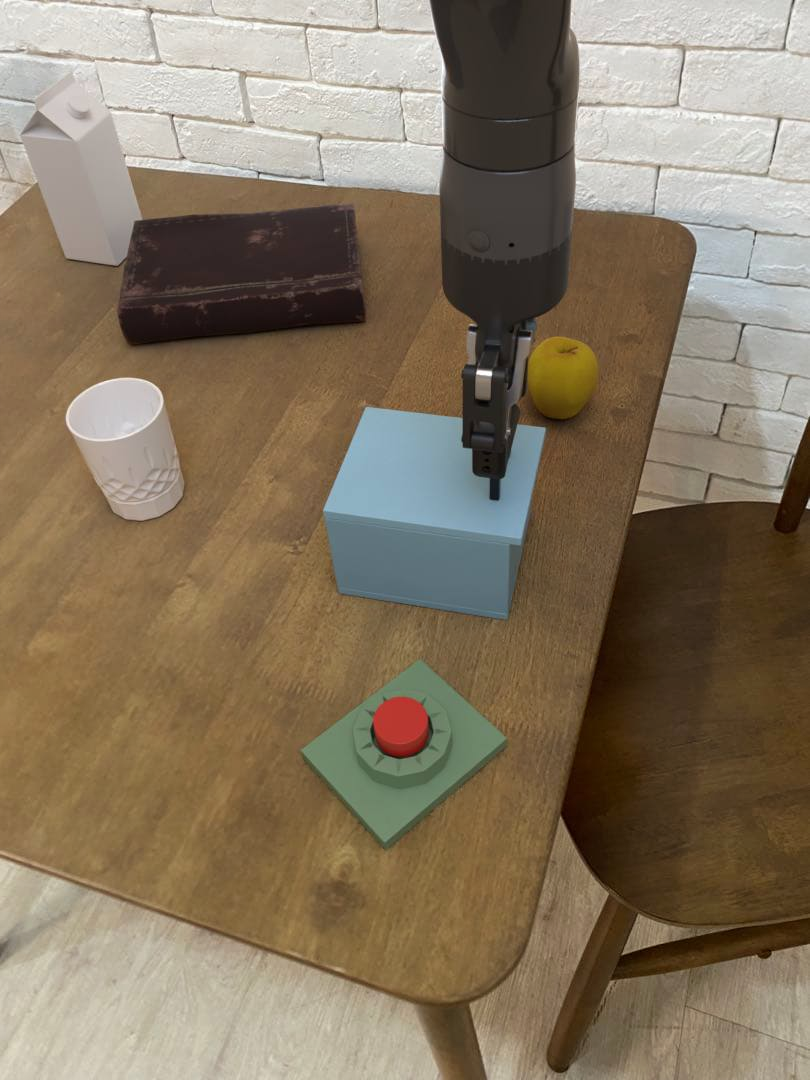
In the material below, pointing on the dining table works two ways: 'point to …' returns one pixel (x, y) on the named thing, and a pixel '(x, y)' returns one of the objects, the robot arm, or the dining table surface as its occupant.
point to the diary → (241, 273)
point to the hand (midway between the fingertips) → (500, 432)
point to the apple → (562, 376)
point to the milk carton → (81, 173)
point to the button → (401, 726)
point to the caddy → (424, 568)
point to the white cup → (128, 446)
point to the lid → (434, 478)
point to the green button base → (403, 782)
